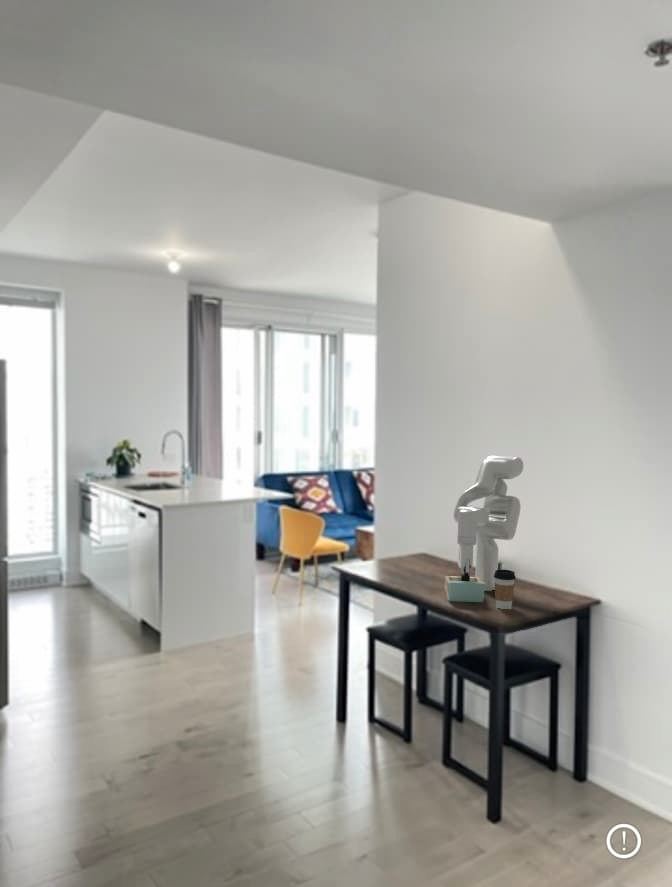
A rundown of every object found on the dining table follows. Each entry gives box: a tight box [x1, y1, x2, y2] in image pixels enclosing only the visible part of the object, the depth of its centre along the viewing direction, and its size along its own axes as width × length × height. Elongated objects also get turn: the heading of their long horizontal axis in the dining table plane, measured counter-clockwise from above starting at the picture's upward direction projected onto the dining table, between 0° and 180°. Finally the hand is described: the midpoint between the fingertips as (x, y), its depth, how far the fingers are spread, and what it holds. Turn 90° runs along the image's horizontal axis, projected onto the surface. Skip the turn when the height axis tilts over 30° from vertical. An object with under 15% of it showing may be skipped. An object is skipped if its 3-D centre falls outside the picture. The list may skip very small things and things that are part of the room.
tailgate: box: [447, 581, 485, 603], centre depth 273 cm, size 14×1×9 cm, turn 87°
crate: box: [444, 575, 481, 600], centre depth 281 cm, size 14×12×7 cm
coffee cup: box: [494, 569, 516, 609], centre depth 266 cm, size 8×8×15 cm
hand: (465, 584), depth 275 cm, fingers closed
